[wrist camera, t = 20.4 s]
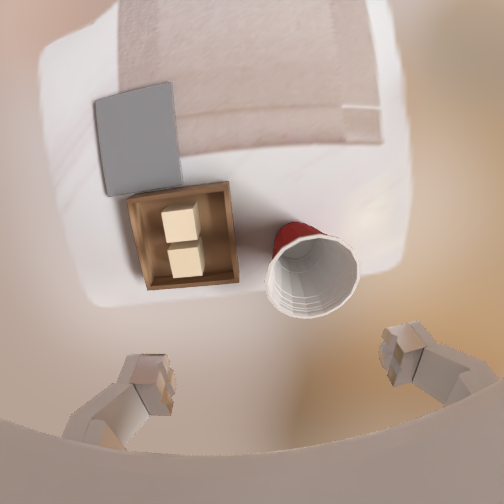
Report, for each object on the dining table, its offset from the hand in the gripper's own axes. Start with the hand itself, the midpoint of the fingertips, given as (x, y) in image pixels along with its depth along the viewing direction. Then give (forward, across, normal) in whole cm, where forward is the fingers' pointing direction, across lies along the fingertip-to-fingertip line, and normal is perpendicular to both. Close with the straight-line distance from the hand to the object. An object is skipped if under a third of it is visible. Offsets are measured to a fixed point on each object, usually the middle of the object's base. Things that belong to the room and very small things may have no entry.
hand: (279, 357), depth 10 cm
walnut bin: (+31, +9, +5) cm, 33 cm away
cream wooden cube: (+30, +9, +2) cm, 32 cm away
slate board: (+31, +14, -9) cm, 35 cm away
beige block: (+30, +9, +7) cm, 33 cm away
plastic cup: (+31, -6, +8) cm, 33 cm away
